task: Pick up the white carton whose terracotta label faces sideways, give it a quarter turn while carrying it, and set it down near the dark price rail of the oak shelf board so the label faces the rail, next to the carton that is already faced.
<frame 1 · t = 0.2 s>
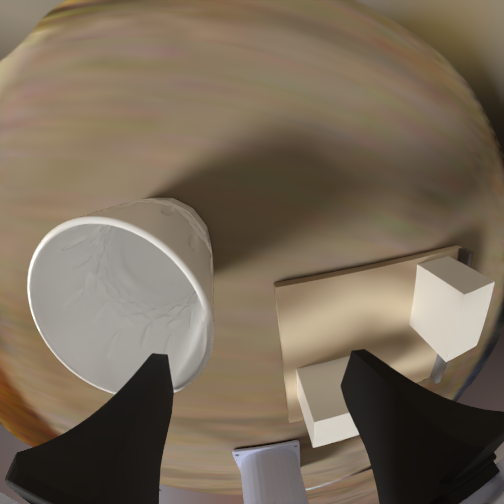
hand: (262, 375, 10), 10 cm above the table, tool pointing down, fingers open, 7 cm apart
white cup: (163, 245, 18), on the table
shelf board: (377, 341, 23), on the table
carton: (329, 376, 22), point 1 cm above the table, touching shelf board
faced carton: (430, 291, 21), point 1 cm above the table, touching shelf board
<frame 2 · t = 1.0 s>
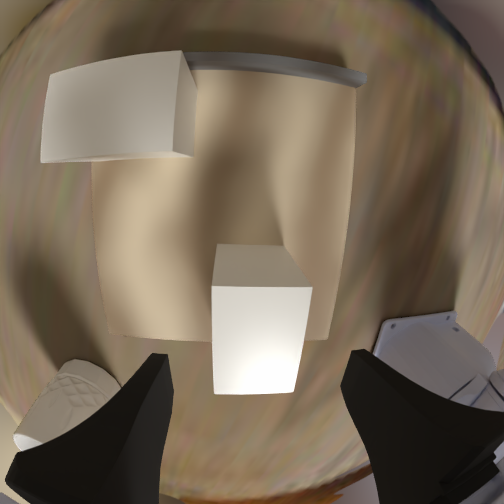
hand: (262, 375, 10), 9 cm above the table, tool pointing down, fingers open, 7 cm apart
white cup: (93, 384, 20), on the table
shelf board: (218, 208, 16), on the table
carton: (248, 290, 17), point 1 cm above the table, touching shelf board
faced carton: (144, 125, 14), point 1 cm above the table, touching shelf board
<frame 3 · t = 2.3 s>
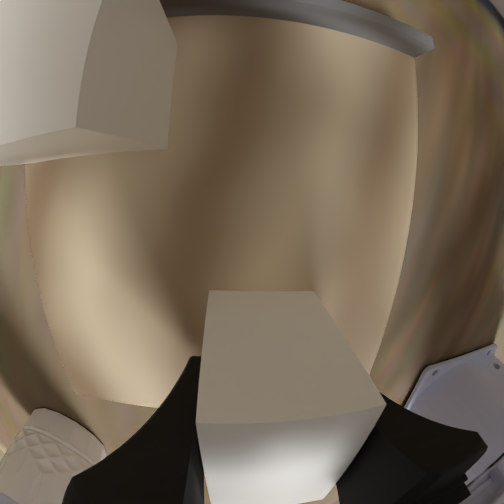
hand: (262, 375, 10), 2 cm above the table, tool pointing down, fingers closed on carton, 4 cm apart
white cup: (69, 433, 14), on the table
shelf board: (210, 231, 10), on the table
carton: (257, 353, 11), point 1 cm above the table, touching gripper, shelf board
faced carton: (94, 102, 8), point 1 cm above the table, touching shelf board
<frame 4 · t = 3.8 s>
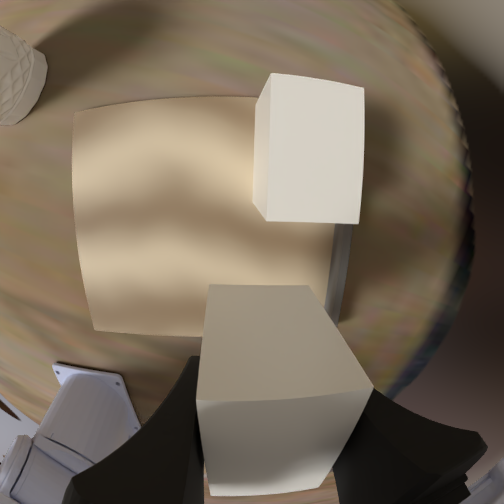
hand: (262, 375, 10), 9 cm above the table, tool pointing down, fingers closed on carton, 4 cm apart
white cup: (20, 87, 12), on the table
shelf board: (203, 223, 17), on the table
carton: (255, 346, 12), point 7 cm above the table, touching gripper
faced carton: (287, 154, 16), point 1 cm above the table, touching shelf board
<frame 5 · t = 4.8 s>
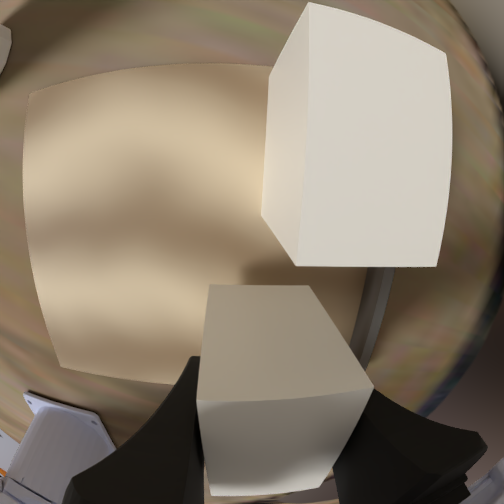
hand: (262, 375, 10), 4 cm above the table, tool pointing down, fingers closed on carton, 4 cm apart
shelf board: (190, 243, 12), on the table
carton: (255, 346, 12), point 2 cm above the table, touching gripper
faced carton: (312, 148, 11), point 1 cm above the table, touching shelf board
when the fingers open (4 cm above the table, at t = 5.3 s): carton stays where it is, resting on shelf board.
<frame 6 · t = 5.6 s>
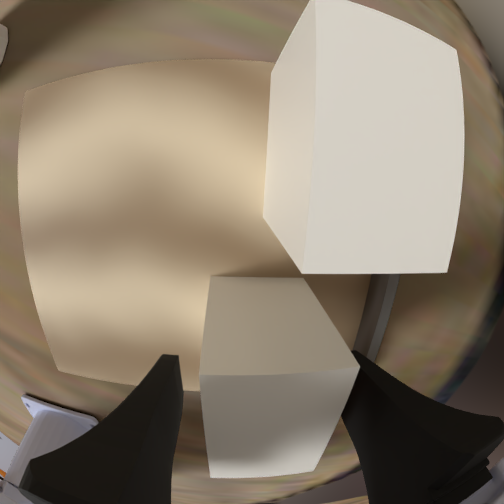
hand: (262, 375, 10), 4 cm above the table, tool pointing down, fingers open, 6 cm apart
shelf board: (189, 245, 12), on the table
carton: (253, 335, 13), point 1 cm above the table, touching shelf board
faced carton: (316, 147, 10), point 1 cm above the table, touching shelf board
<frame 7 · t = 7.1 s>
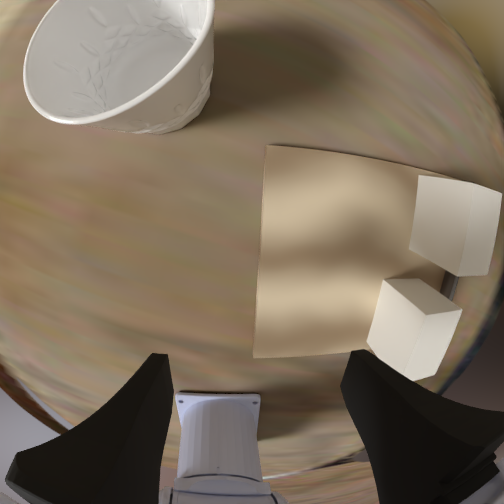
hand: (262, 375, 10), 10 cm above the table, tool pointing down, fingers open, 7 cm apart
white cup: (162, 89, 15), on the table
shelf board: (371, 263, 20), on the table
carton: (393, 310, 21), point 1 cm above the table, touching shelf board
faced carton: (431, 214, 19), point 1 cm above the table, touching shelf board
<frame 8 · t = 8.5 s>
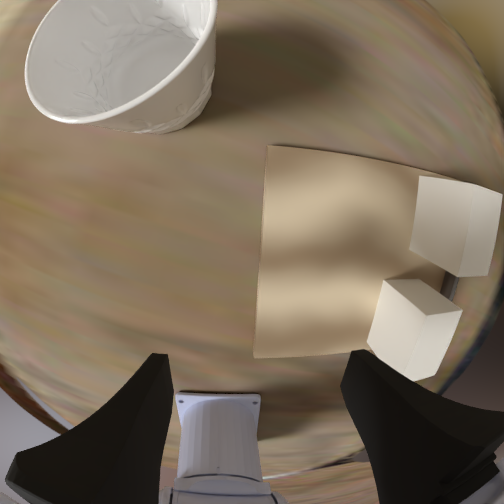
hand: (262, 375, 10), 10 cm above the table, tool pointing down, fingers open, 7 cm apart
white cup: (164, 89, 15), on the table
shelf board: (371, 263, 20), on the table
carton: (393, 311, 21), point 1 cm above the table, touching shelf board
faced carton: (432, 215, 19), point 1 cm above the table, touching shelf board
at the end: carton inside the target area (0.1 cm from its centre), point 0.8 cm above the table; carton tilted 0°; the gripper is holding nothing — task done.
